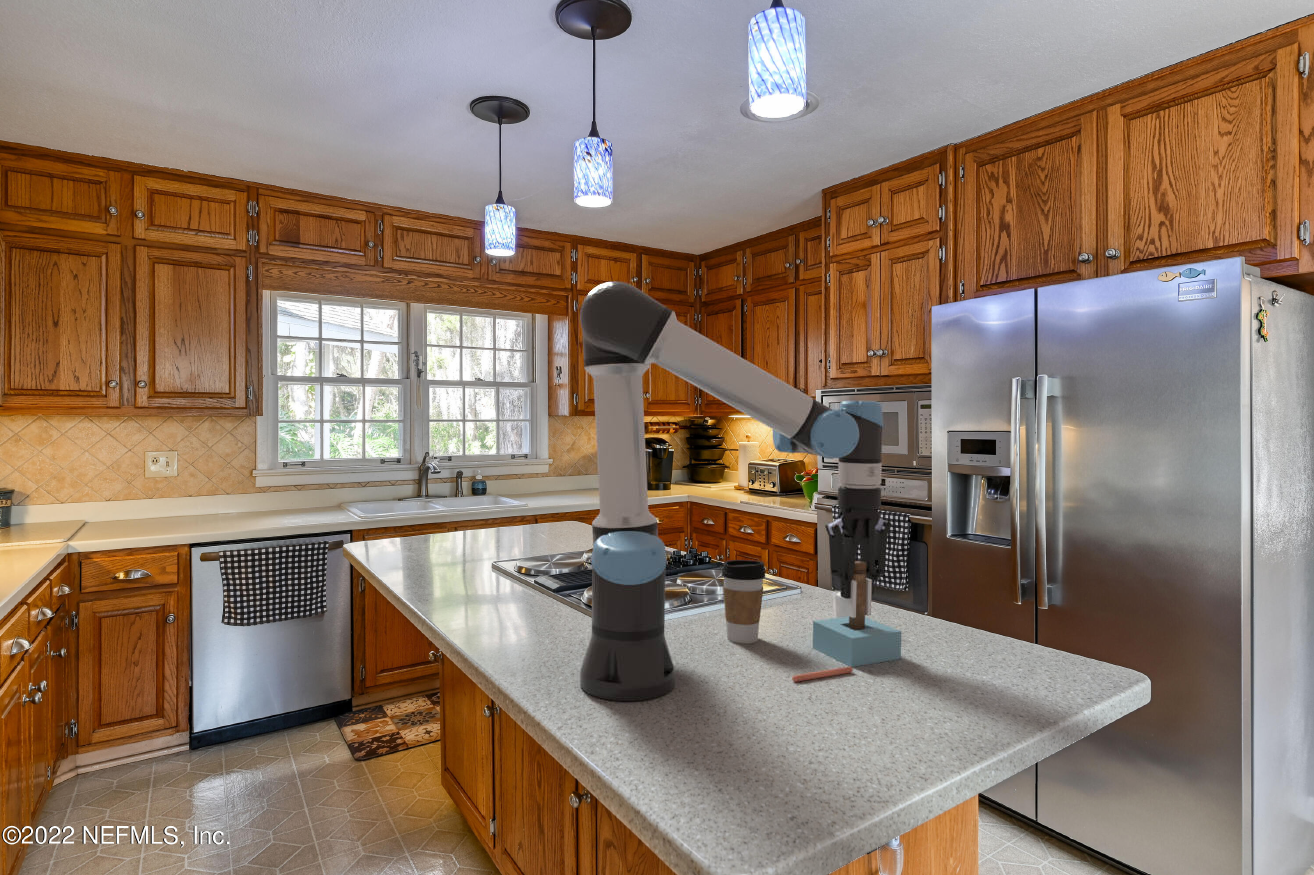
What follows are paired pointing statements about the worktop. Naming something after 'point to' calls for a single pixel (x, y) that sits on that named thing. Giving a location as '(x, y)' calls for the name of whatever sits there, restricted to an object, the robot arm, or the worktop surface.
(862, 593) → the round wooden peg
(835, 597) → the white cylinder
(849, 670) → the salmon red rod
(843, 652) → the blue square hole block
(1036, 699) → the worktop surface
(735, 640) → the coffee cup
